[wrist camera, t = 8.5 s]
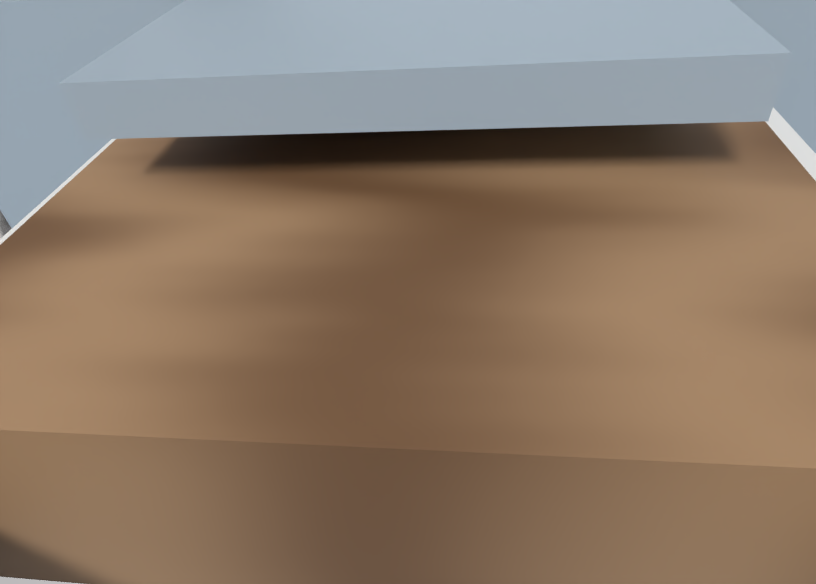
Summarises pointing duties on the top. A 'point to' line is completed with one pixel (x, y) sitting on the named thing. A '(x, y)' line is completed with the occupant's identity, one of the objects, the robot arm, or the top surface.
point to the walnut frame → (416, 361)
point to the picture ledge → (381, 70)
